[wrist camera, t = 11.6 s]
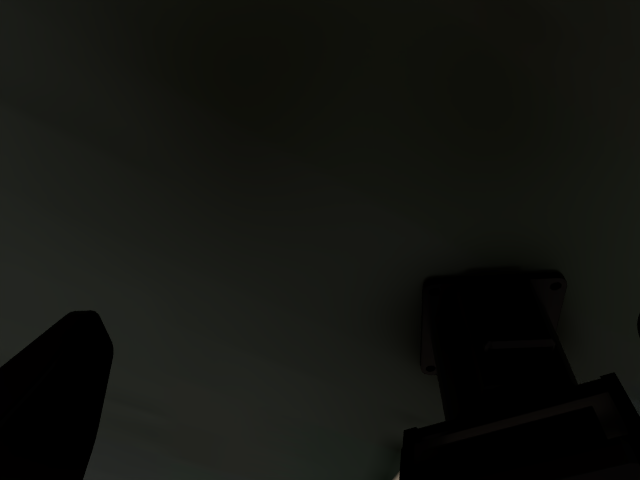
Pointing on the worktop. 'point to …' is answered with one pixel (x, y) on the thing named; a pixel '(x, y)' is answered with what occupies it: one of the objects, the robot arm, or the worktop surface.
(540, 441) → the robot arm
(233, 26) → the worktop surface
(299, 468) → the worktop surface
